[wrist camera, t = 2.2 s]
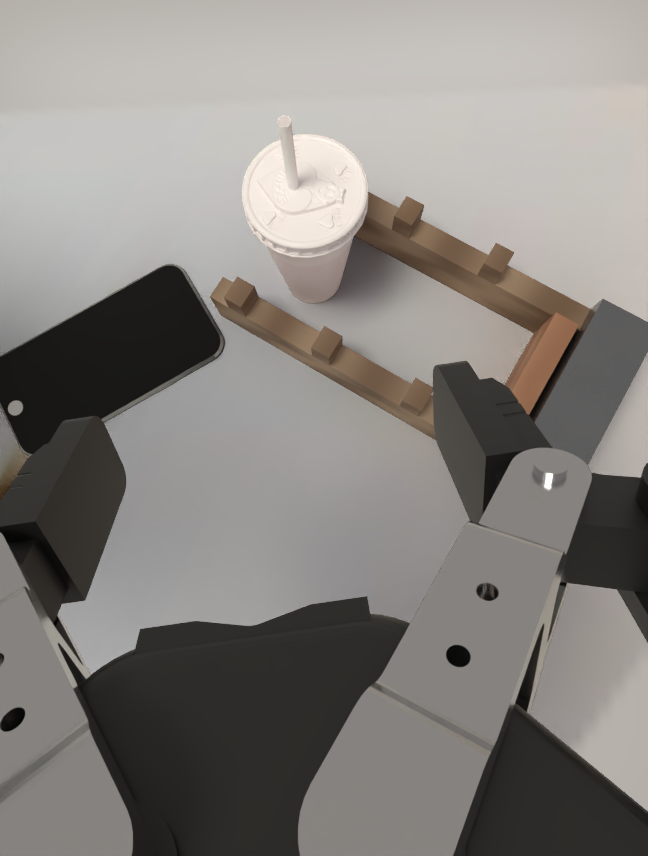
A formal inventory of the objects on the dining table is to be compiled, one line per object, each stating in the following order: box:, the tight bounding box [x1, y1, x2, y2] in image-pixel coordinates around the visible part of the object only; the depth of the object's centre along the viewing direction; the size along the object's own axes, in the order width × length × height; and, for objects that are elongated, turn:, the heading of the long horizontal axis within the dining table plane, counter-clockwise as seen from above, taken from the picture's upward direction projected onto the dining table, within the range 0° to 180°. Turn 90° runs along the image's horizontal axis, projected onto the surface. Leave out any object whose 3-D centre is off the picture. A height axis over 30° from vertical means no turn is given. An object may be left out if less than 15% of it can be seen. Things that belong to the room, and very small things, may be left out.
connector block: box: [529, 299, 648, 465], centre depth 31 cm, size 4×11×4 cm, turn 149°
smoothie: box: [242, 116, 368, 303], centre depth 28 cm, size 6×6×14 cm
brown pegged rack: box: [210, 192, 590, 440], centre depth 32 cm, size 22×11×4 cm, turn 59°
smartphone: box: [0, 264, 224, 456], centre depth 35 cm, size 8×1×15 cm
